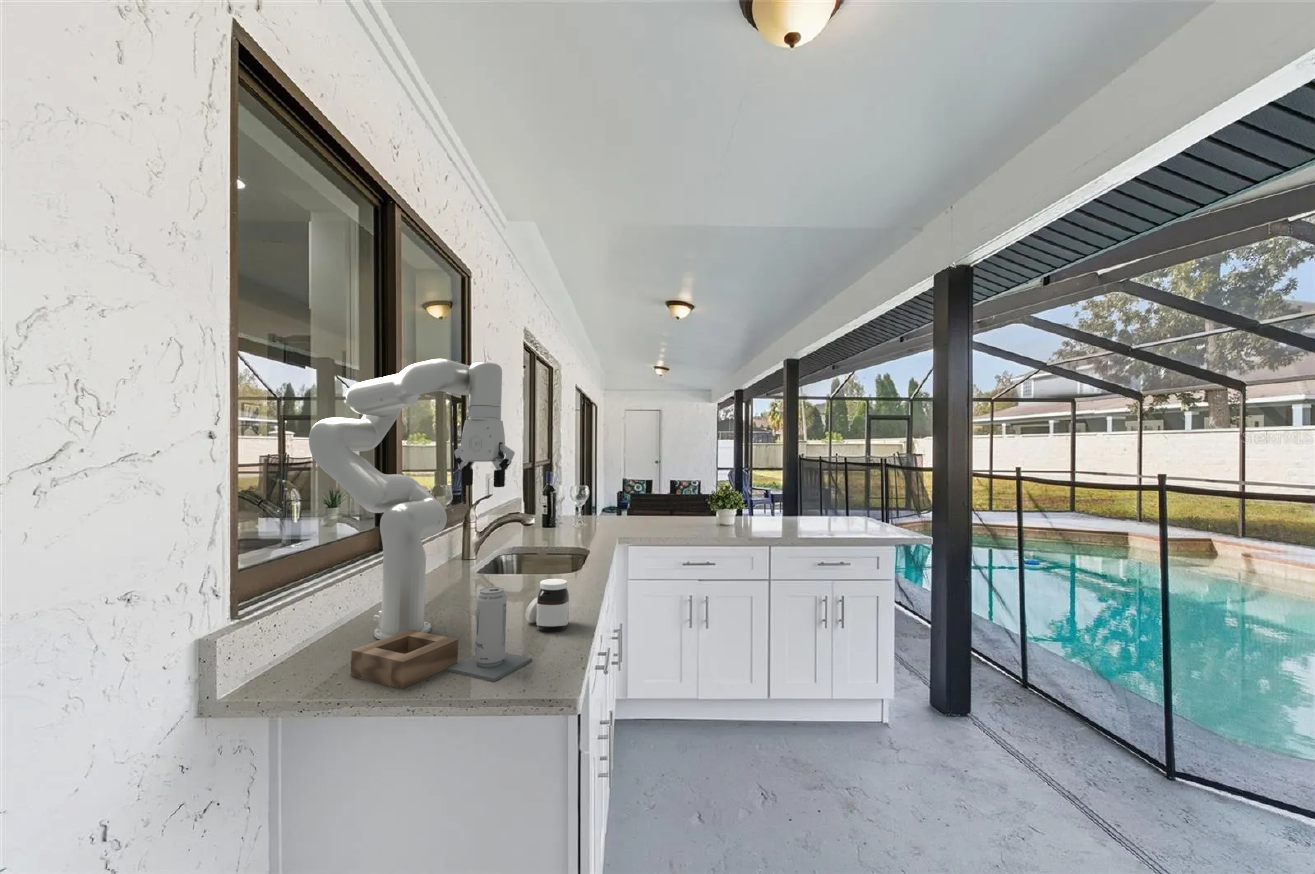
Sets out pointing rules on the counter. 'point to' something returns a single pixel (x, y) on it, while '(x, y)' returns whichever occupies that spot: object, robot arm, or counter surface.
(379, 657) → the walnut frame
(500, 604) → the energy drink can
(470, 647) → the counter surface
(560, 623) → the spread jar
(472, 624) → the counter surface
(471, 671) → the rubber mat
